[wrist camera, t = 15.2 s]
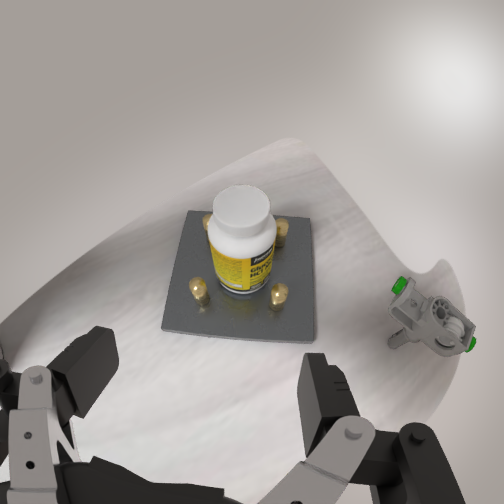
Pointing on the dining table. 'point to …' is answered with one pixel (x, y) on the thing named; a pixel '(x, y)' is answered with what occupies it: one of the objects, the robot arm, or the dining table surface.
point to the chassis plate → (243, 305)
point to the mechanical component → (429, 321)
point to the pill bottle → (242, 238)
